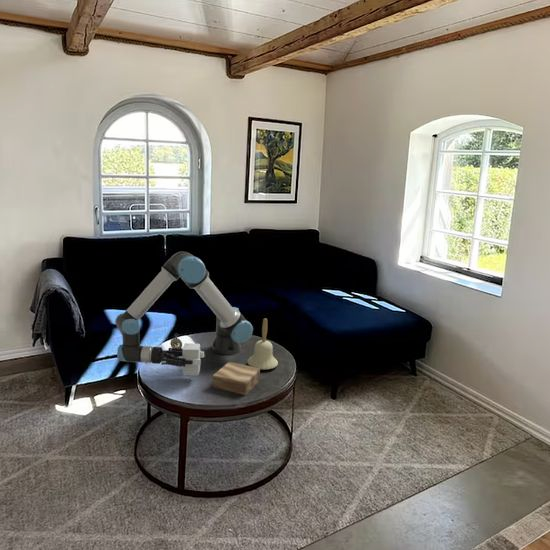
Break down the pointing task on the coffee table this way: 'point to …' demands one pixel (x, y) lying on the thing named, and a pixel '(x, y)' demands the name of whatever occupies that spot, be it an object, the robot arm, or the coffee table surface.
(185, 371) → the supplement box
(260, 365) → the handbell
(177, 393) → the coffee table surface
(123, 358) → the robot arm
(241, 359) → the coffee table surface
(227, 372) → the walnut stand
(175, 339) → the pocket watch
